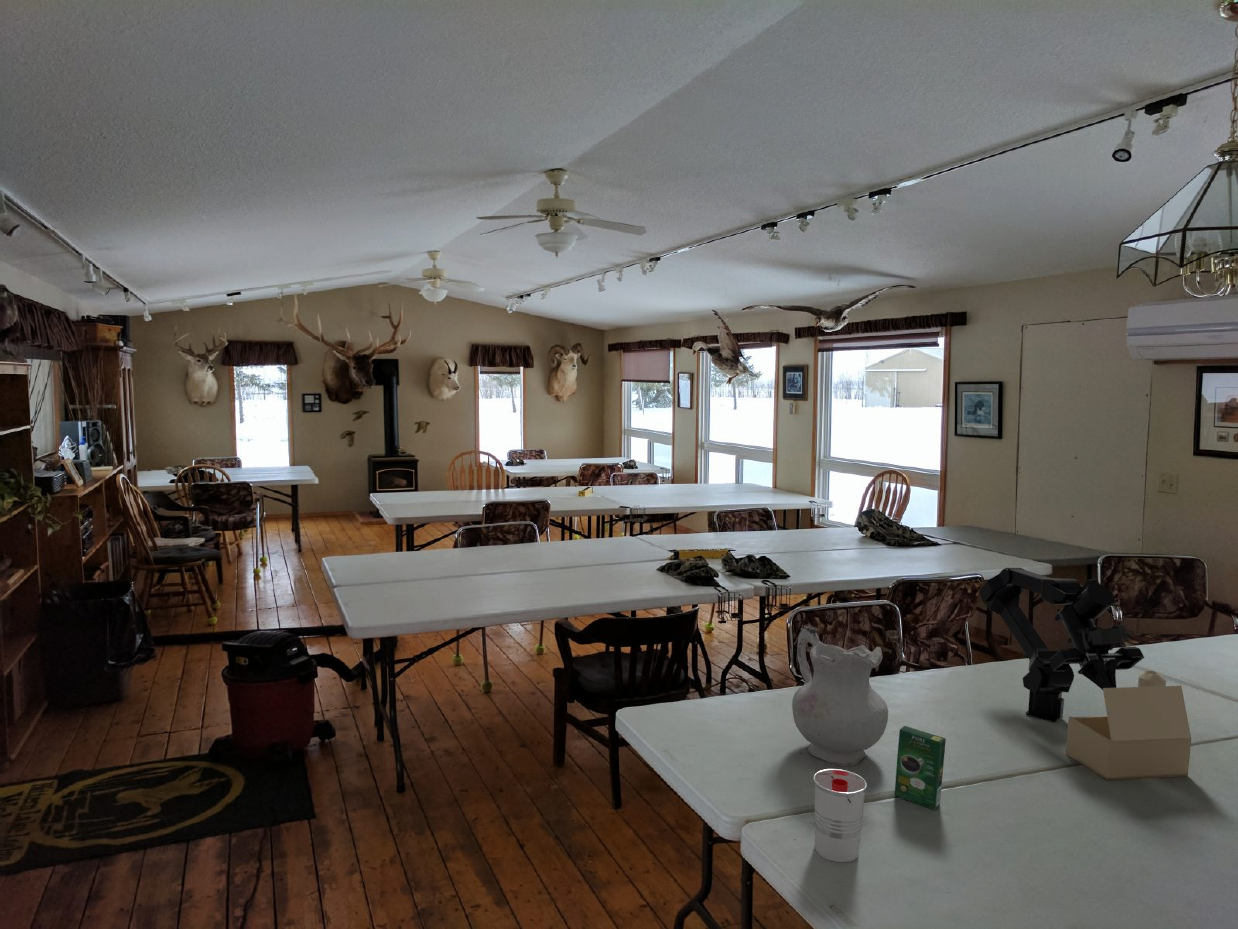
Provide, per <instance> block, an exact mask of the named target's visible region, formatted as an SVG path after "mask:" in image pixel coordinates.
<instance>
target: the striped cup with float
mask: <svg viewBox="0 0 1238 929" xmlns="http://www.w3.org/2000/svg"><path fill="white" fill-rule="evenodd" d="M812 780H813V782H814V804H813V805H814V806H813V807H814V811H813V812H814V813H813V816H814V817H813V818H814V820H813V821H814V850H815V852H816V853H817V854H818V855H819V856H820V857H822V858H823V859H826V860H828V861H831V862H835V863H850V862H853V861H855V860H856V859H857V858H858V856H859V855H860V854H859V852H860V843H861V841H860V840H861V832H862V826H863V824H862V823H863V819H864V818H863V817H864V816H863V815H864V806H865V804H864V803H865V796H866V794H865V793H866V789H867V787H868V784H867V781H866V780H865V779H864V778H863V777H862V776H860V775H859V774H857V773H855V772H852V771H848V770H844V769H837V768H827V769H822V770H819V771H817V772H816V773H815V774H813V778H812Z"/></svg>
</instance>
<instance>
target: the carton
mask: <svg viewBox="0 0 1238 929" xmlns="http://www.w3.org/2000/svg"><path fill="white" fill-rule="evenodd" d="M1067 720H1068V721H1067V731H1066V732H1067V733H1066V743H1065V744H1066V746H1065V748H1066V749H1065V755H1066V756H1068V757H1070V758H1072V759H1073V760H1074V761H1075V762H1077V763H1078V764H1081V765H1082V766H1084V767H1085V768H1086V769H1088V770H1089V771H1092V772H1093V773H1094V774H1096V775H1097V776H1099V777H1100V778H1102V779H1104V780H1105V781H1119V780H1141V779H1156V778H1157V779H1160V778H1174V777H1175V778H1176V777H1177V778H1179V777H1188V776H1189V767H1190V758H1191V745H1192V737H1191V738H1173V739H1151V740H1128V741H1111V735H1110V729H1109V723H1108V717H1107V715H1089V716H1068V718H1067Z"/></svg>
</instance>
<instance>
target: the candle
mask: <svg viewBox="0 0 1238 929" xmlns="http://www.w3.org/2000/svg"><path fill="white" fill-rule="evenodd" d="M1154 686H1167V680H1166V679H1165V677H1163V676H1162V675H1161V674H1160V673H1158V672H1156V671H1155V670H1146V671H1143V673H1141V674H1139V675H1138V683H1137V687H1154Z"/></svg>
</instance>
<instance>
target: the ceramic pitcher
mask: <svg viewBox="0 0 1238 929" xmlns="http://www.w3.org/2000/svg"><path fill="white" fill-rule="evenodd" d="M817 631H818V628H817V627H815V626H813V627H812V626H810V625H803V627H802V628H801V631H800V632H799V635H798V638H797V639H798V640H797V647H796V648H797V650H796V651H797V653H796V654H797V661H798V664H799V671H800V673H801V674H802V676H803V677H802V678H803V679H804V684H803V685H801V687H799V688H798V689H797V690H796V691H795V693H794V695H793V698H792V701H791V702H792V703H791V708H792V715H793V722H794V724H795V727H796V728H797V730H798V731H799V733H800V734H801V735H802V737H803V738H804V739H805V741H807V742H808V743H809V744H808V745H807V746H808V747H807V750H808V754H810V755H812V756H814V757H816V758H818V759H820V760H822V761H826V762H828V763H830V764H834V765H835V766H839V767H849V768H850V767H851V768H852V767H854V766H856V765H857V764H858V763H859V762H861V760H863V758H864V757H865V756H866V752H865V750H868V749H870V748H872V747H873V746H875V744H877V742H879V741H880V740H881V738H882V736H883V735H884V734H885V731H886V728H887V725H888V721H889V709H888V704H887V703H886V701H885V699H883V697H882V696H881V695H880V694H879V693H878V692H877V691H875V690H874V688H872V686H871V684H870V677H871V672H872V669H874V668H877V667H878V666H880V664H881V663H882V660H883V652H882V647H880V646H876V647H875V648H874V650H872V651H871V650H869V649H868V648H867V647H866V646H865V645H863V644H862V645H859V646H855V647H854V646H853V647H851V648H849V649H845V648H843V647H841V646H838V645H835V644H825V643H823V642H822V641H821V640H820V638H819V635H818V632H817ZM808 643H809V644H811V646H812V647H811V649H810V651H809V657H810V660H811V663H812V668H813V676H812V673H811V668H810V665H809V663H808V660H807V655H806V651H807V646H808Z"/></svg>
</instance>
